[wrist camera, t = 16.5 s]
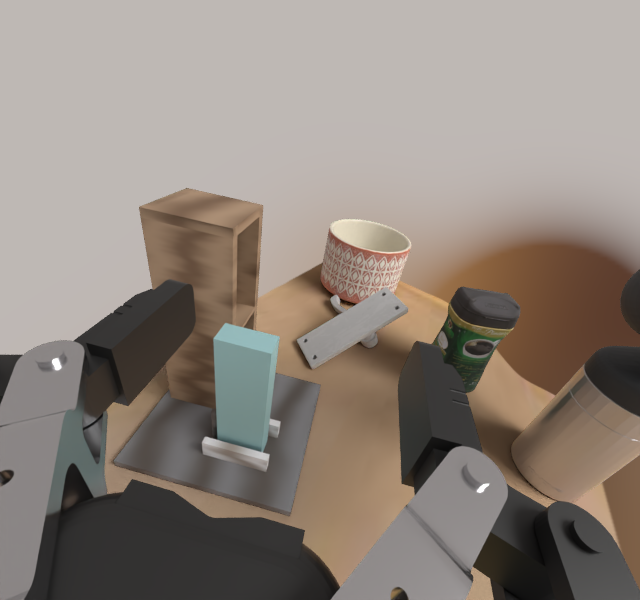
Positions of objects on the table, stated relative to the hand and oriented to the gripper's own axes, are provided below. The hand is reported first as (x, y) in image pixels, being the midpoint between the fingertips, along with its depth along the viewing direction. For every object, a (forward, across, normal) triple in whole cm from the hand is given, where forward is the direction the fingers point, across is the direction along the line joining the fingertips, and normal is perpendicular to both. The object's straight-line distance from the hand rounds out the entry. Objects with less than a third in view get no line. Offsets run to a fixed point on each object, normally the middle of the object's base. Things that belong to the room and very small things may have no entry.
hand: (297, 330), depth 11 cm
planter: (+60, -4, +32) cm, 68 cm away
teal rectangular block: (+13, +6, +31) cm, 34 cm away
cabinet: (+16, +9, +32) cm, 37 cm away
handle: (+40, -1, +33) cm, 52 cm away
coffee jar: (+35, -23, +32) cm, 53 cm away
